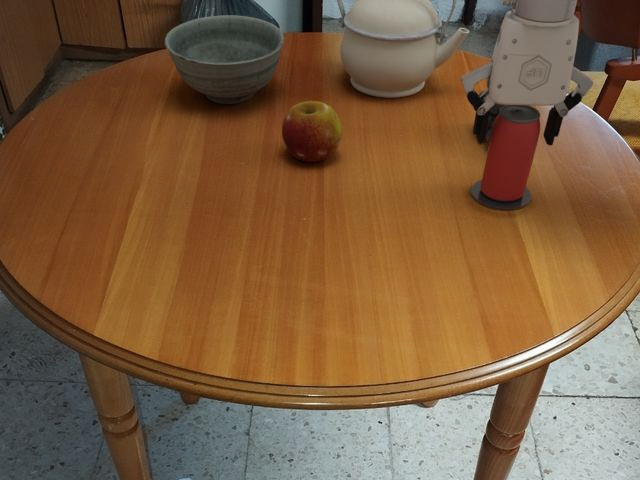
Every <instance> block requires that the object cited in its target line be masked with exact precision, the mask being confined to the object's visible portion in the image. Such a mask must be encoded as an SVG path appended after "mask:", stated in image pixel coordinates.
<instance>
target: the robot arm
mask: <svg viewBox="0 0 640 480" xmlns="http://www.w3.org/2000/svg"><path fill="white" fill-rule="evenodd" d="M577 3H578V0H501V5H502V6H507V7H510V9H511V10H508V11H507V12H506V13H505V15H504V18H503V20H502V23H501V25H500V29H499V32H498V35H497V38H496V41H495V44H494V48H493V51H492V57H491V59H490V62H487V63H485V64H484V65H481V66H479V67H477V68H475V69H472V70H471V71H469V72H466V73H465V74H463V75H462V76H461V78H460V80H461V84H462V87H463V90H464V93H465V96H466V98H467V101H468V103H469V104H470V105H471V106H472V108H473V110H474V109H475V110H476V111H475V110H474V111H475V116H474V122H473V127H472V135H473V136H475V137H476V140H477V144H478V145H483V144H484V143H485V140H486V136H485V135H486V130H487V125H488V119H489V116H488V112H487V111H488V110H489V109H490V108H491V107H492V106H493V105H494V104H495V103H497V104H501V105H529V106H532V107H534V106H540V107H541V106H543V107H547V106H548V107H549V106H553V107H550V109H549V112H548V115H547V119H546V123H545V125H544V126H545V127H544V131H543V135H542V136H543V138H544V141H545V143H546V145H547V146H553V145H554V141H555V138H558V137H559V135H560V131H561V127H562V124H563V121H564V117H566V116H567V115H568V114H569V111H571V110H573V109H574V108H575V107H576V106H578V105H579V104H580V103H581V102H582V99H583V98H584V97H585V96H586V95H587V93H588V92H589V91H590V90H591V89H592V87H593V86H594V81H593V79H592V77H590V76H589V75H587V74H586V73H584V72H583V71H581V70H580V69H579V68H577V67H575V66H574V63H575V57H576V52H577V46H578V39H579V30H580V29H579V28H580V19H579V18H578V17H577V16H576V15H575V11H576V7H577ZM483 80H486V88H487V89H486V90H484V91H485V92H484V93H483V94H481V95H480V96H479V93H478V92H477V91H476V89H475V85H476V84H477V83H479V82H481V81H483ZM571 81H572V82H574V83H575V84H577V85H576V87H575V89H574V90H572V91H571V92H569V88H570V84H571ZM568 92H569V93H568Z"/></svg>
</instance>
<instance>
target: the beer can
mask: <svg viewBox="0 0 640 480" xmlns="http://www.w3.org/2000/svg"><path fill="white" fill-rule="evenodd" d="M540 118H541V113H540V111H539V110H538V109H537V108H536V107H534V106H532V105H505V106H503V107H502V108H500V111H499V114H498V115H497V117H496V119H495V121H494V123H493V127H492V132H491V137H490V142H488V147H487V151H486V152H487V153H486V157H485V163H484V167H483V173H482V178H481V180H482V182H481V190H482V192H483V193H484V194H485V195H486V196H487V197H489V198H490V199H493V200H496V201H502V202H510V201H514V200H517V199H519V198H521V197H522V195H523V194H524V193H525V189H526V187H527V185H528V181H529V176H530V172H531V169H532V165H533V160H534V157H535V153H536V149H537V146H538V142H539V137H540V134H541V119H540Z"/></svg>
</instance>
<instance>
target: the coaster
mask: <svg viewBox="0 0 640 480" xmlns="http://www.w3.org/2000/svg"><path fill="white" fill-rule="evenodd" d="M481 182H482V179H480V180H477V181H476V182H474V183H473V184H472V186H471V188H470V195H471V198H472V199H473V200H474V201H475V202H476V203H478V204H479V205H481V206H483V207H485V208H488V209H491V210H496V211H516V210H520V209H523V208H525V207H527V206H528V205H529V204H530V202H531V200H532V192H531V191H530V189H529V188H528V187H527V186H526V189H525V193H524V194H523V195H522V197H521V198H519V199H517V200H514V201H510V202H502V201H496V200H493V199H490V198H489V197H487V196H486V195H485V194H484V193H483V192H482V190H481Z"/></svg>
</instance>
